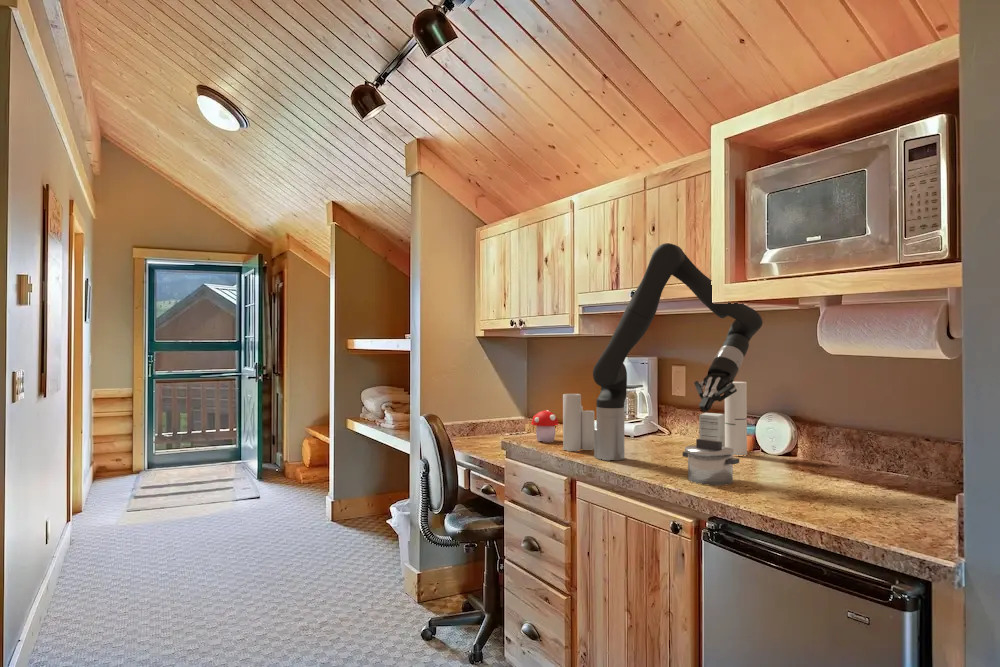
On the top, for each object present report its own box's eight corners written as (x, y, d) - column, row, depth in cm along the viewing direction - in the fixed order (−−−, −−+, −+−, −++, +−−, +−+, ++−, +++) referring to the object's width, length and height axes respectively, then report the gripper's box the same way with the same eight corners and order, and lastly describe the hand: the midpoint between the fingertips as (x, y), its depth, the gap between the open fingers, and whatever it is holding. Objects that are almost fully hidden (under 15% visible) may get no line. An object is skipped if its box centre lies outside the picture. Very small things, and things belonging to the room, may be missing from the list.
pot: (673, 478, 185) (673, 450, 185) (700, 472, 194) (699, 445, 194) (725, 488, 172) (724, 458, 173) (750, 481, 181) (750, 452, 181)
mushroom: (550, 443, 246) (550, 412, 246) (525, 441, 252) (525, 410, 252) (563, 440, 255) (563, 409, 255) (539, 437, 261) (539, 408, 261)
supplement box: (705, 446, 240) (705, 412, 240) (725, 448, 236) (725, 413, 236) (698, 449, 234) (698, 414, 234) (719, 451, 230) (719, 415, 230)
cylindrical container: (748, 456, 218) (748, 383, 219) (726, 456, 220) (726, 382, 220) (745, 453, 225) (744, 381, 226) (723, 452, 227) (723, 381, 227)
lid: (675, 452, 183) (675, 440, 183) (701, 446, 191) (701, 435, 191) (717, 458, 173) (717, 445, 173) (742, 452, 181) (742, 440, 181)
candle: (567, 452, 228) (567, 395, 229) (559, 448, 235) (559, 393, 235) (596, 450, 232) (596, 394, 232) (588, 447, 239) (588, 393, 239)
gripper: (701, 355, 192) (677, 399, 184) (742, 356, 182) (719, 402, 174) (710, 372, 195) (687, 416, 187) (752, 374, 185) (730, 421, 177)
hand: (703, 409), depth 180 cm, fingers closed
